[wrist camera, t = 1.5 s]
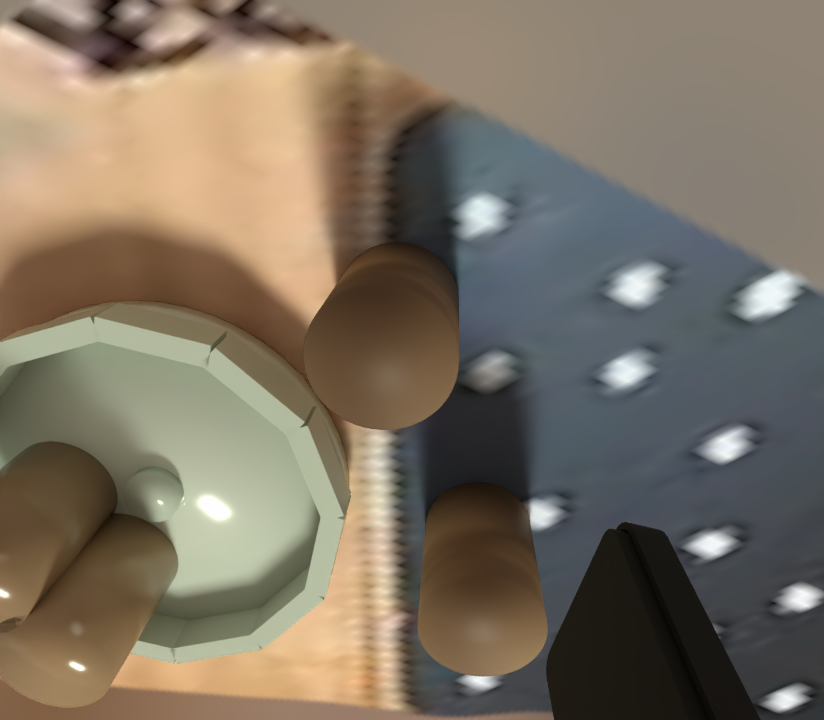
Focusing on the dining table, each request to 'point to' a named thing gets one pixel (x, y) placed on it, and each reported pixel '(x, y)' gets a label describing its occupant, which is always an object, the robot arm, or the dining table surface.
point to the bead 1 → (386, 339)
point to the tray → (155, 495)
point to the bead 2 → (480, 583)
